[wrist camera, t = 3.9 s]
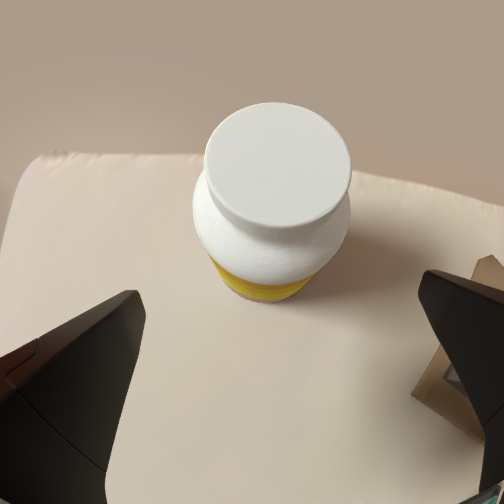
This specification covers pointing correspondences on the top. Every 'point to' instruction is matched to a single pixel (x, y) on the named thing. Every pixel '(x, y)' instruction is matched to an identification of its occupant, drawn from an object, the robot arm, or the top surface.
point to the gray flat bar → (454, 380)
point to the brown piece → (432, 383)
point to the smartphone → (485, 497)
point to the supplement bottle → (272, 199)
